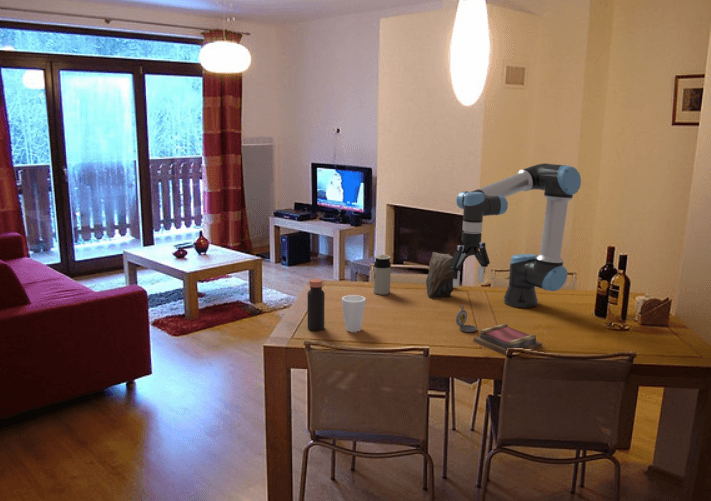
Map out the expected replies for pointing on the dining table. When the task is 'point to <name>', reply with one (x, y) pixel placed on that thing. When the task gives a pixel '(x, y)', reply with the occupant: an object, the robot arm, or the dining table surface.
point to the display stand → (506, 339)
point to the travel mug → (382, 274)
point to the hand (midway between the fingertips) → (468, 284)
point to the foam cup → (353, 312)
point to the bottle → (316, 305)
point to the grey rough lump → (439, 276)
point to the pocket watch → (462, 317)
